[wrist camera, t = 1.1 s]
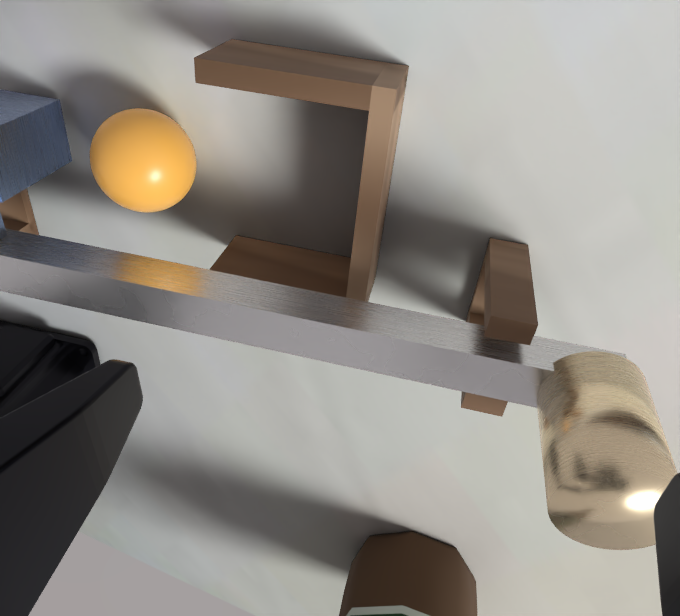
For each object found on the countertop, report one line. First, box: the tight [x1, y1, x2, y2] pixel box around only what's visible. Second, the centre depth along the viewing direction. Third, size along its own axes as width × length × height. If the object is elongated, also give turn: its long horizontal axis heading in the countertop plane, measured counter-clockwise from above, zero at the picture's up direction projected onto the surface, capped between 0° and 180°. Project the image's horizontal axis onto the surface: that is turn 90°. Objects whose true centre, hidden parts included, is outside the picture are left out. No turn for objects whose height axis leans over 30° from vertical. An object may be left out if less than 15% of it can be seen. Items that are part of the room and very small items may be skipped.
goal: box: [194, 39, 409, 302], centre depth 19 cm, size 8×6×3 cm
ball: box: [90, 108, 196, 212], centre depth 20 cm, size 4×4×4 cm
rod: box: [0, 90, 678, 550], centre depth 18 cm, size 6×32×9 cm, turn 85°
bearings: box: [0, 188, 538, 416], centre depth 21 cm, size 4×22×5 cm, turn 85°
